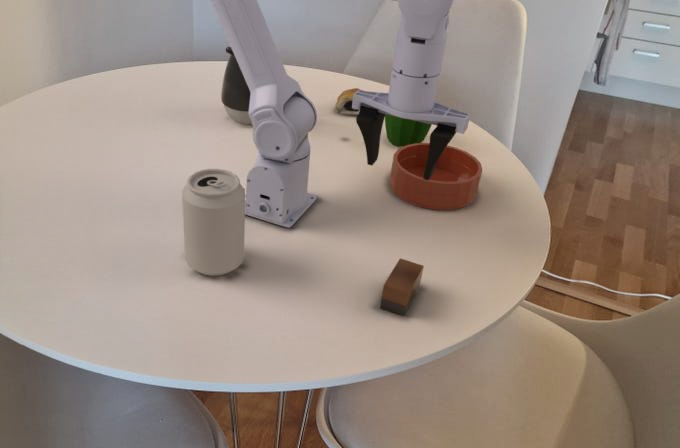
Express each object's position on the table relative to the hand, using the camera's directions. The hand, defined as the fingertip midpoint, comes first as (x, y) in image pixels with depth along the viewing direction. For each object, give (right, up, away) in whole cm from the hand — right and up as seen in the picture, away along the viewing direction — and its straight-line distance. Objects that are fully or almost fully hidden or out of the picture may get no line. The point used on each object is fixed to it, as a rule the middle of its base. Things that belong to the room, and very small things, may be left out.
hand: (399, 169), depth 85 cm
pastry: (-1, +15, +40) cm, 43 cm away
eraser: (-1, -16, -8) cm, 18 cm away
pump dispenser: (-21, +12, +35) cm, 42 cm away
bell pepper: (+6, +7, +29) cm, 30 cm away
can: (-24, -12, -3) cm, 27 cm away
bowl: (+8, -2, +15) cm, 17 cm away
